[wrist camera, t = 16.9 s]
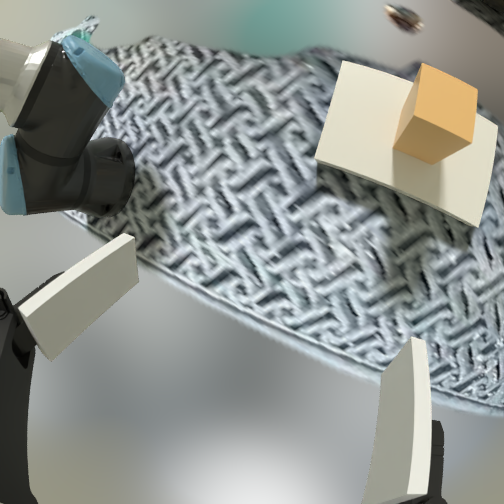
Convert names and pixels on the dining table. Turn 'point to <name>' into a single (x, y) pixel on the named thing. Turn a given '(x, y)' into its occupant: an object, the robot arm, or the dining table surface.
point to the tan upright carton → (436, 116)
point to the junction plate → (396, 162)
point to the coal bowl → (496, 4)
